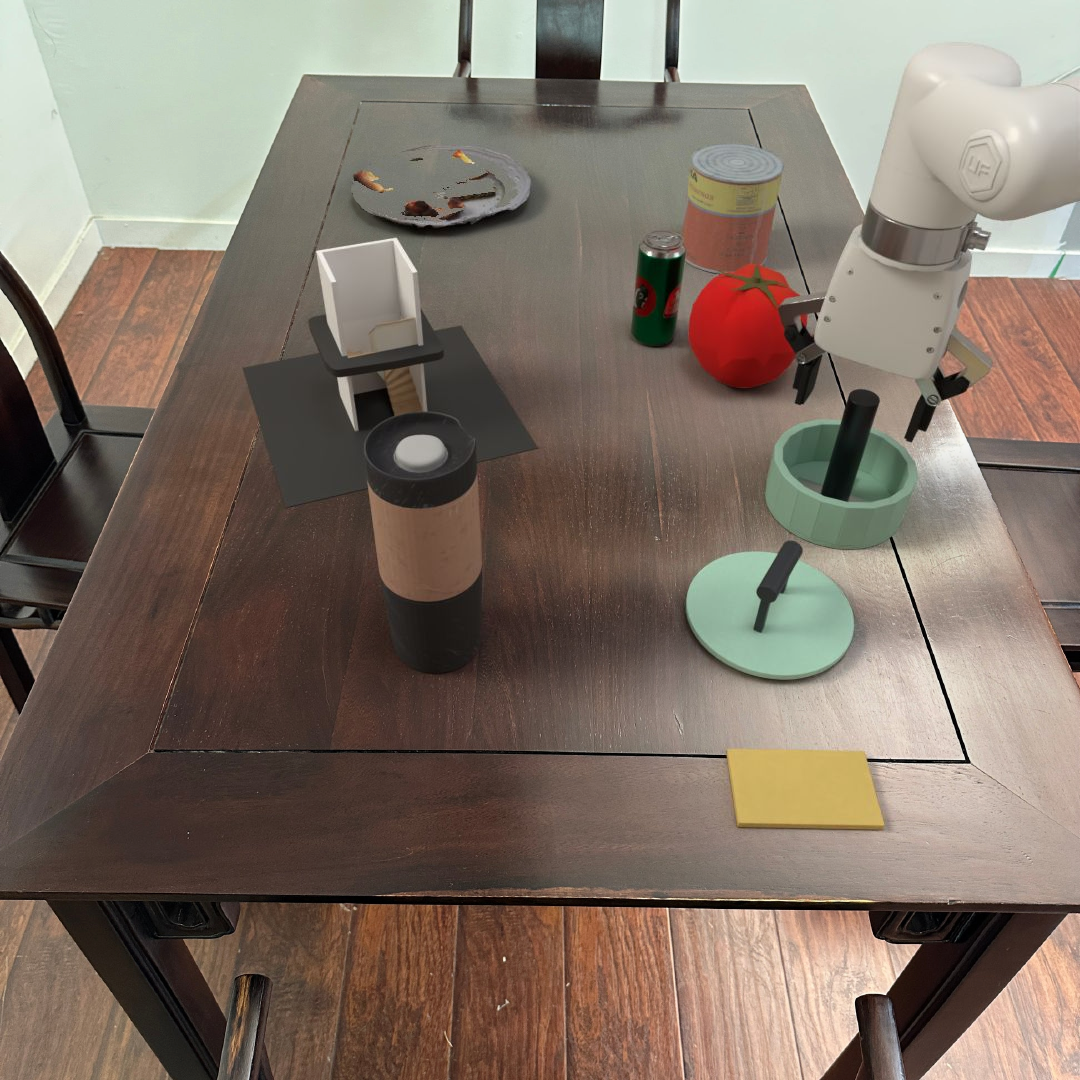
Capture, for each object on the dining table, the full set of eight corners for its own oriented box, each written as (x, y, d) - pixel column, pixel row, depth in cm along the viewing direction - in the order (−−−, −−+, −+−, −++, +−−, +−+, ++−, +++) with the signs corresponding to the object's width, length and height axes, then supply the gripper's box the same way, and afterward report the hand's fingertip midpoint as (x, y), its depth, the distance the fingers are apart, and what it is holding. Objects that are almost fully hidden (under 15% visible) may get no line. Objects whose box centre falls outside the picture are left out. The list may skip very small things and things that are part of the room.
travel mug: (376, 667, 76) (344, 471, 62) (407, 597, 81) (383, 402, 67) (470, 684, 75) (459, 489, 61) (495, 612, 80) (490, 418, 66)
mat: (862, 755, 70) (864, 750, 70) (882, 830, 66) (885, 825, 66) (726, 752, 70) (727, 748, 70) (737, 827, 66) (738, 822, 66)
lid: (871, 598, 82) (892, 543, 77) (819, 711, 73) (838, 656, 69) (722, 540, 87) (734, 485, 82) (657, 639, 78) (665, 584, 74)
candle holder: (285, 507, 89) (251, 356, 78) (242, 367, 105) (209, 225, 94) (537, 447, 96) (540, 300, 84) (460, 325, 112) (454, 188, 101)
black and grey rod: (885, 489, 91) (920, 389, 83) (861, 537, 86) (896, 435, 78) (808, 463, 94) (835, 363, 86) (780, 507, 89) (806, 406, 81)
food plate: (393, 252, 124) (390, 226, 122) (327, 184, 139) (323, 159, 136) (559, 211, 134) (560, 186, 131) (481, 151, 148) (480, 127, 146)
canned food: (697, 225, 131) (710, 136, 123) (778, 245, 127) (796, 154, 119) (666, 261, 124) (676, 168, 115) (749, 282, 120) (766, 189, 112)
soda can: (669, 351, 109) (682, 253, 100) (626, 344, 110) (635, 245, 101) (678, 329, 112) (691, 231, 104) (636, 321, 113) (645, 224, 105)
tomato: (673, 394, 103) (686, 297, 95) (692, 329, 112) (706, 236, 104) (789, 413, 100) (812, 316, 92) (799, 346, 110) (821, 252, 102)
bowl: (917, 487, 92) (933, 446, 89) (879, 569, 84) (894, 527, 81) (792, 444, 97) (802, 403, 93) (744, 517, 89) (753, 476, 85)
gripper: (1045, 239, 71) (968, 424, 83) (819, 183, 77) (778, 363, 89) (1025, 283, 66) (946, 473, 78) (786, 220, 72) (747, 404, 84)
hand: (856, 414), depth 84 cm, fingers open, 9 cm apart
